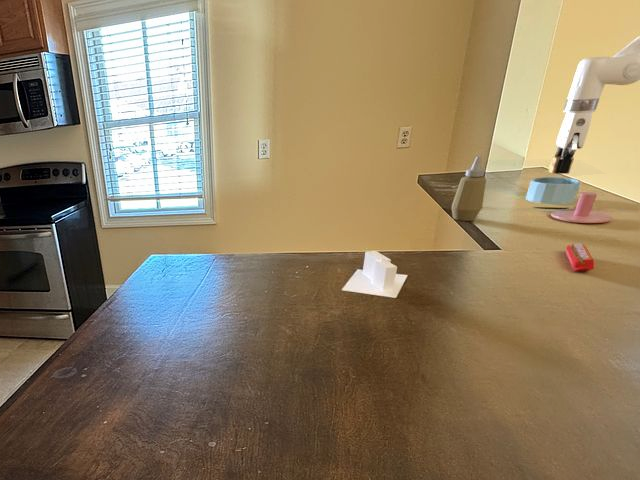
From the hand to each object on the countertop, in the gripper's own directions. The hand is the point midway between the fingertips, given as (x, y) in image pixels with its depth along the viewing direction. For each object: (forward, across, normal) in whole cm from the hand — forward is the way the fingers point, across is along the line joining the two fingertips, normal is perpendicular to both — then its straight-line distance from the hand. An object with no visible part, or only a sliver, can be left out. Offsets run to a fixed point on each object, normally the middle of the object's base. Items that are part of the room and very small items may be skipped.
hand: (558, 171), depth 150 cm
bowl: (+10, 0, 0) cm, 10 cm away
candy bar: (+11, -61, +7) cm, 62 cm away
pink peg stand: (+10, -18, -4) cm, 21 cm away
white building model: (+11, -83, +49) cm, 97 cm away
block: (0, 0, 0) cm, 0 cm away
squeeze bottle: (+11, -22, +26) cm, 36 cm away
